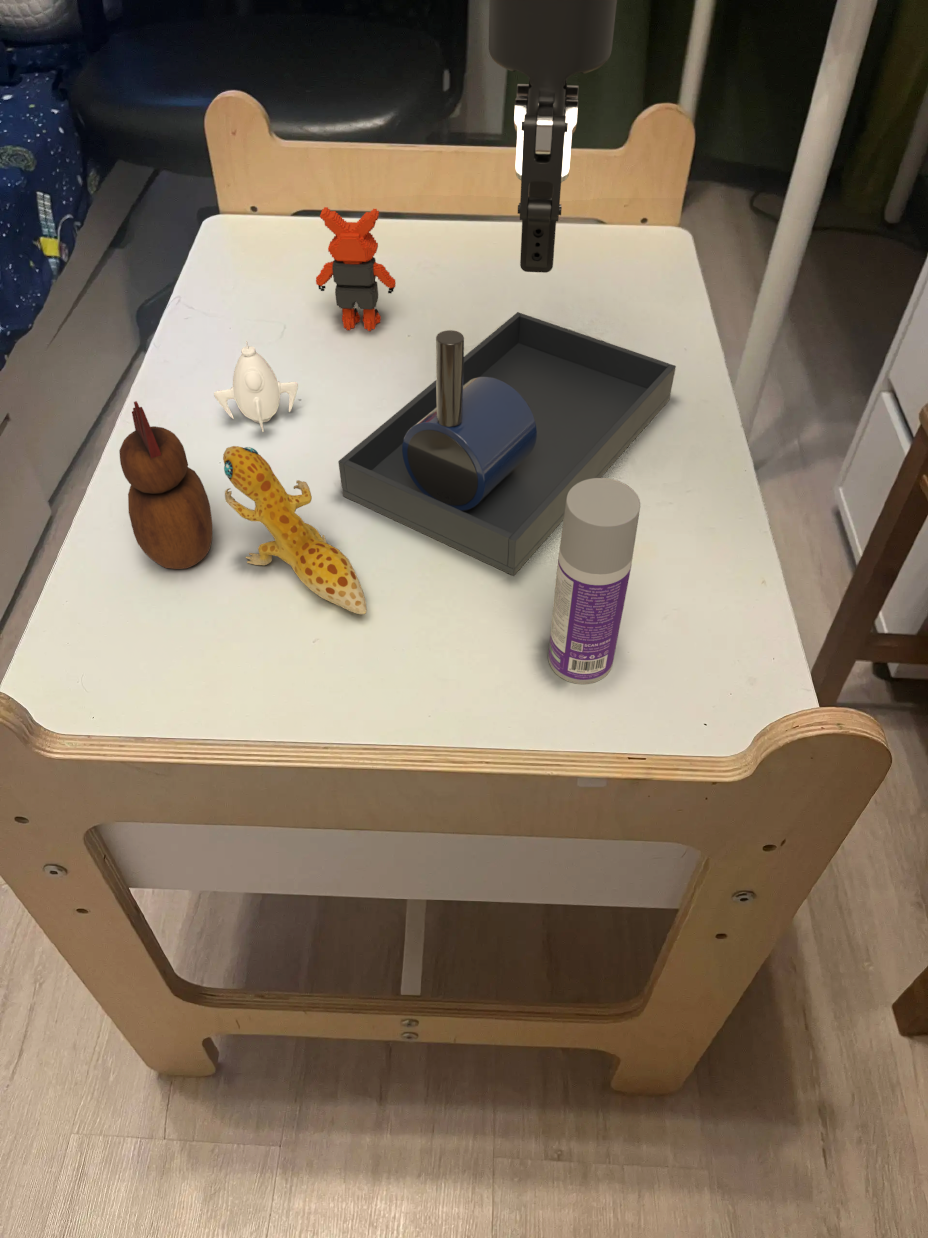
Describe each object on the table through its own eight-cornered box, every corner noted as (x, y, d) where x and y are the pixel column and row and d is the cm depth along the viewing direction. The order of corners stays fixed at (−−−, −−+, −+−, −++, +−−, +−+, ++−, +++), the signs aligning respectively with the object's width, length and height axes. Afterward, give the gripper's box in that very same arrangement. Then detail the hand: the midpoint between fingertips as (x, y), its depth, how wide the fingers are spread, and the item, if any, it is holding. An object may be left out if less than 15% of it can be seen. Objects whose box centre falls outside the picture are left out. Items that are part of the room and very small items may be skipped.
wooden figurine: (219, 577, 72) (173, 418, 60) (144, 585, 71) (83, 427, 60) (220, 519, 76) (177, 362, 65) (149, 527, 75) (94, 370, 64)
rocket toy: (264, 442, 83) (248, 366, 77) (220, 422, 85) (201, 347, 79) (303, 411, 86) (290, 336, 80) (259, 393, 88) (244, 318, 82)
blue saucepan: (458, 283, 71) (396, 326, 66) (548, 313, 68) (489, 360, 63) (456, 443, 81) (402, 490, 77) (533, 475, 79) (482, 525, 74)
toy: (268, 473, 75) (257, 410, 66) (401, 600, 73) (409, 554, 64) (207, 524, 73) (187, 467, 64) (342, 655, 71) (341, 616, 62)
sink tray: (669, 400, 87) (676, 365, 84) (513, 576, 72) (515, 541, 69) (516, 345, 93) (517, 311, 91) (342, 496, 78) (337, 461, 75)
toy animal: (402, 306, 99) (395, 193, 90) (396, 333, 95) (388, 219, 86) (329, 303, 99) (315, 191, 90) (320, 330, 95) (305, 216, 86)
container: (623, 651, 66) (655, 493, 55) (594, 694, 64) (621, 538, 53) (567, 625, 68) (586, 466, 57) (536, 666, 66) (550, 509, 54)
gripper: (623, 5, 48) (591, 293, 60) (617, -64, 57) (591, 198, 69) (480, 1, 48) (477, 288, 60) (497, -66, 58) (492, 194, 70)
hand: (538, 240), depth 65 cm, fingers open, 8 cm apart
